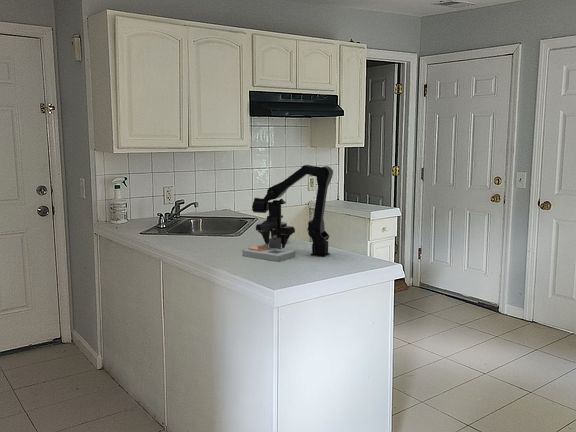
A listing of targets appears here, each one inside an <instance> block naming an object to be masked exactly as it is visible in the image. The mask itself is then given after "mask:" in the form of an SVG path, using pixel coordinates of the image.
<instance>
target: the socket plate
mask: <svg viewBox="0 0 576 432" xmlns="http://www.w3.org/2000/svg"><path fill="white" fill-rule="evenodd" d="M268 247H269V246H268ZM241 251H242V252H241V253H242V256H243V257H248V258H253V259H259V260H266V261H270V262H271V261H272V262H277V263H278V262H283V261H286V260H289V259H292V258H295V257H296V251H295V250H289V249H284V248H281V249H277V248H270V247H269V249H266V250H262V251H256V250H249V249H248V248H246V249H243V250H241Z"/></svg>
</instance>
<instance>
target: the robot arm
mask: <svg viewBox="0 0 576 432" xmlns="http://www.w3.org/2000/svg"><path fill="white" fill-rule="evenodd" d="M307 175H309V176H312V177H316V183H317V190H316V191H317V192H316V198H315V204H314V212H313V218H312V219H311V220H309V221H308V222H307V224H308V226H307V229H306V231H307V234H308V236H309V237H310V238H311V241H312V244H311V253H310V255H311V256H316V257H326V256H329V255H331V253H330V252H329V239H330V234H328V233H327V232H326V230H325V229H326V228H325V221H324V215H325V214H324V213H325V209H326V200H327V195H328V194H327V193H328V189H329V188H328V187H329V186H330V183H331V181H332V178H333V175H334V170H333V169H332V167H330V166H328V165H326V166H322V167H321V166H316V165H315V166H314V165H310V164H305V165H302V166H301V167H300V168H299V169H297V170H296V171H295V172H294V173H292V174H291V175H289V176H288V177H287V178H285V179H284V180H283V181H281V182H278V183H276V184H274V185H272V186H270V187H268V188H267V190H266V194H265V195H264V197H263V198H262V197H261V198H260V197H254V198H253V202H252V204H251V205H252V206H251V210H252V212H253V213H258V214H266V213H267V212H268V215H267V216H266V220H264V221H262V222H261V223H257V224H256V225H255V231H257V233H259V234H260V235H261V236H262V239H263V241H264V244H268V245H269V239H270V236H271V230H274V231H281V233H282V234H280V235H281V237H282V244H281V249H285V247H286V245H287V243H288V240H289V239H290V237H291V235H293V234H295V233H296V229H295V227H294V226H291V225H287V226H285V227H283V224H281V222H282V219H283V218H284V215H282V205H285V204H286V203H287V202H286V201H285V200H284V199H283V198H281V197H282V196H283V195H284V194H285V193H286V192H287V191H288V190H289V188H290V187H292V186H293V185H295V184H296V183H297V182H299V181H300V180H301V179H303V178H304V177H306V176H307Z"/></svg>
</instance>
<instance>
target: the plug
mask: <svg viewBox="0 0 576 432" xmlns="http://www.w3.org/2000/svg"><path fill="white" fill-rule="evenodd" d="M268 247H270V248H277V249H282V244H281V238H277V235H273V238H269V244H268Z"/></svg>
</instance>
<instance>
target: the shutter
mask: <svg viewBox="0 0 576 432" xmlns="http://www.w3.org/2000/svg"><path fill="white" fill-rule="evenodd" d="M247 249H249V250H256V251H262V250H266V249H269V244H265V243H264V244H260V245H254V246H250V247H248V248H247Z"/></svg>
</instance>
